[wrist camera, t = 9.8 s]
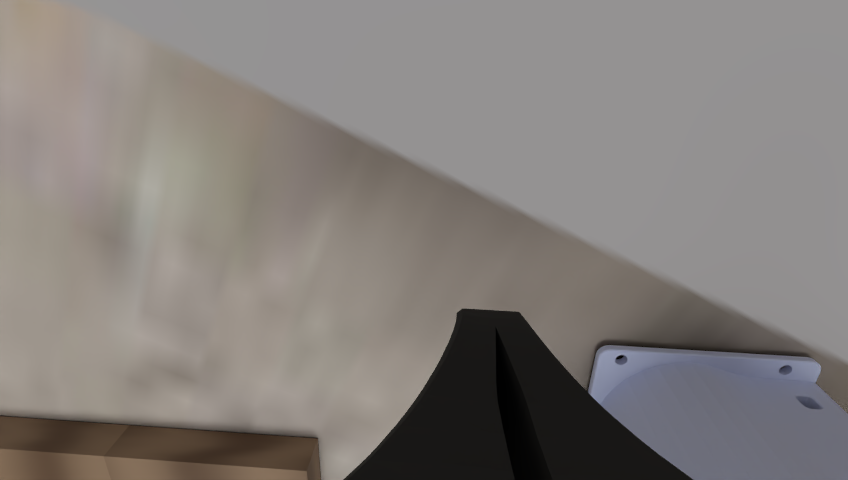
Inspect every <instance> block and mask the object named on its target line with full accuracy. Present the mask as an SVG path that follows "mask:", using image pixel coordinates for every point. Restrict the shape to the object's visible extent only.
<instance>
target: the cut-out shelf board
mask: <svg viewBox="0 0 848 480" xmlns="http://www.w3.org/2000/svg"><path fill="white" fill-rule="evenodd" d="M0 480H321V476H320V462H319V449H318V439H317V438H302V437H288V436H274V435H260V434H246V433H232V432H217V431H203V430H189V429H175V428H161V427H146V426H132V425H118V424H104V423H90V422H75V421H61V420H47V419H33V418H19V417H4V416H0Z"/></svg>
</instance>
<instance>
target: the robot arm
mask: <svg viewBox="0 0 848 480" xmlns="http://www.w3.org/2000/svg"><path fill="white" fill-rule="evenodd" d="M619 355H624V357H623V358H621V359H616V357H618V356H619ZM783 366H785V367H784V368H782V369H780V368H781V367H783ZM820 372H821V366H820V364H819V363H817V362H816V361H815V360H814V359H813V358H809V357H797V356H781V355H764V354H748V353H732V352H715V351H699V350H682V349H666V348H649V347H633V346H616V345H605V346H603V347H601V348H600V349H598V351H597V353H596V356H595V361H594V366H593V370H592V375H591V380H590V384H589V389H588V392H587V391H586V390H585V389H584V388H583V387H582V386H581V385H580V384H579V383H578V382H577V381H576V380H575V379H574V378H573V377H572V376H571V374H570V373H569V372H568V371H567V370H566V369H565V368H564V366H563V365H562V364H561V363H560V362H559V361H558V360H557V358H556V357H555V356H554V355H553V354H552V353H551V351H550V350H549V349H548V348H547V347H546V345H545V344H544V343H543V342H542V340H541V339H540V338H539V337H538V335H537V334H536V333H535V331H534V330H533V329H532V328H531V326H530V325H529V324H528V322H527V321H526V320H525V319H524V317H523V316H522V315H521V314H520V313H519V312H511V311H494V310H477V309H461V310H460V311H459V312H457V318H456V324H455V327H454V330H453V333H452V335H451V338H450V340H449V343H448V345H447V347H446V349H445V351H444V353H443V355H442V357H441V359H440V361H439V363H438V365H437V367H436V368H435V370H434V372H433V373H432V375H431V377H430V378H429V380H428V382H427V383H426V385H425V386H424V388H423V390H422V391H421V393H420V394H419V396H418V397H417V398H416V400H415V401H414V403H413V404H412V405H411V407H410V408H409V409H408V411H407V412H406V413H405V415H404V416H403V417H402V419H401V420H400V421H399V422H398V424H397V425H396V426H395V427H394V428H393V429H392V430H391V432H390V433H389V434H388V435H387V436H386V437H385V439H384V440H383V441H382V442H381V443H380V444H379V445H378V446H377V448H376V449H375V450H374V451H373V452H372V453H371V454H370V455H369V456H368V457H367V458H366V459H365V460H364V461H363V462H362V463H361V464H360V465H359V466H358V467H357V468H356V469H354V470H353V471H352V472H351V473H350V474H349V475H348V476H347V477H346V478H345V479H344V480H848V414H847V413H846V412H845V411H844V410H843V409H842V408H841V407H840V406H839V405H838V404H837V403H836V402H835V401H834V400H833V399H832V398H831V397H829V396H828V395H827V394H826V393H825V392H824V391H823V390H822V389H821V388H820V387H819V386H818V385H817V384H816V381H817V378H818V376H819V374H820Z"/></svg>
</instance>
